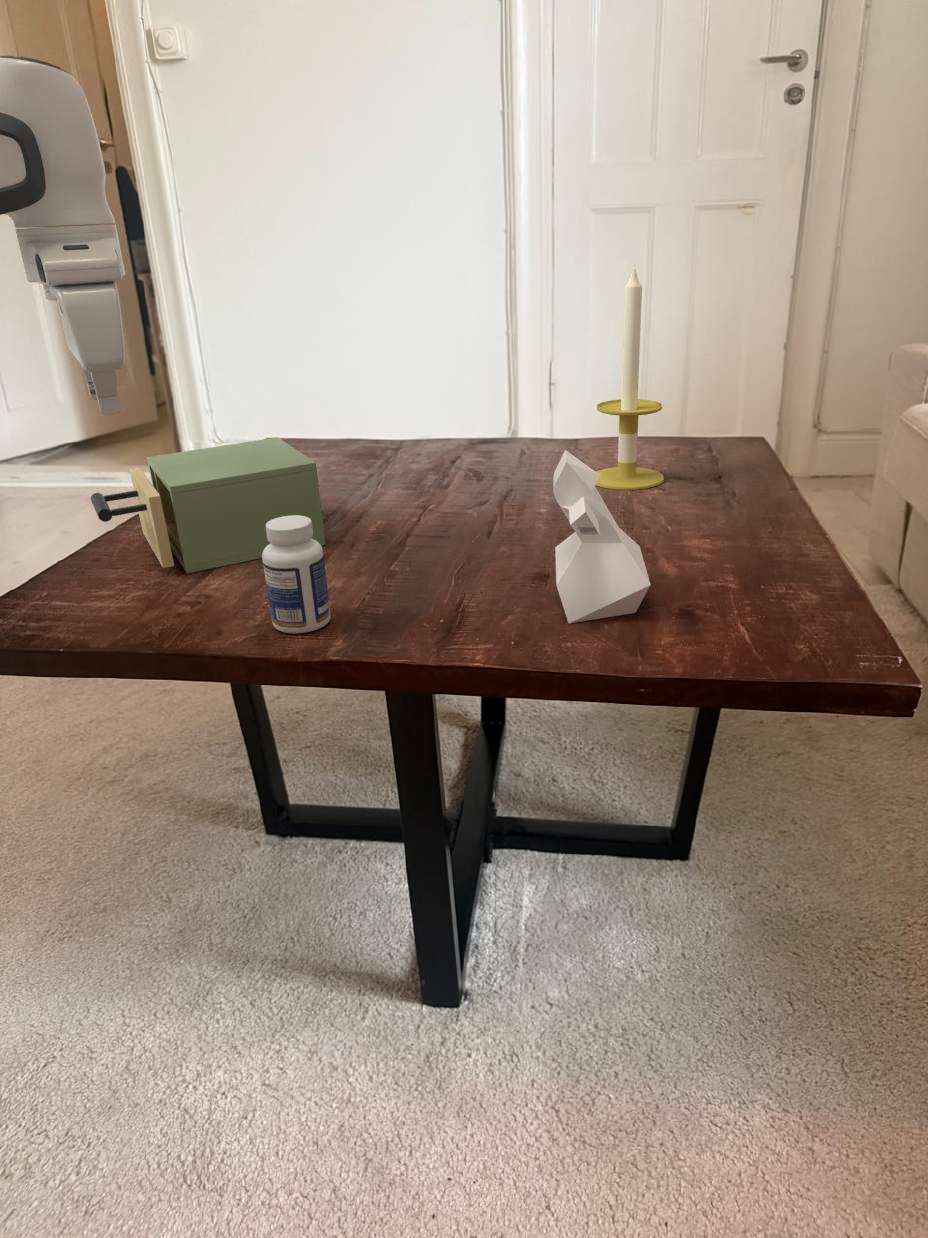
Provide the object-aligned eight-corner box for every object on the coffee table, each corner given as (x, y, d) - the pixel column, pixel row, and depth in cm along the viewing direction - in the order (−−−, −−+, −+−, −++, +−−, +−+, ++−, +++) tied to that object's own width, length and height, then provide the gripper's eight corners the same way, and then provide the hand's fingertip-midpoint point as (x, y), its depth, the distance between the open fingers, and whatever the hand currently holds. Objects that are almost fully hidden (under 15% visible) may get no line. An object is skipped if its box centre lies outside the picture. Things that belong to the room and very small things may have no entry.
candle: (583, 471, 121) (586, 263, 110) (654, 467, 121) (664, 259, 110) (596, 491, 112) (601, 268, 100) (672, 487, 112) (686, 263, 101)
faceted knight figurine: (636, 568, 88) (641, 434, 82) (651, 629, 75) (659, 475, 69) (552, 569, 89) (552, 436, 83) (554, 629, 76) (553, 477, 70)
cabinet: (186, 573, 92) (169, 486, 88) (162, 535, 104) (146, 456, 100) (325, 545, 98) (315, 462, 94) (288, 511, 110) (277, 437, 106)
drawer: (114, 578, 89) (97, 506, 86) (99, 541, 100) (83, 475, 97) (295, 541, 97) (286, 474, 94) (263, 510, 108) (253, 449, 105)
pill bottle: (316, 605, 83) (304, 508, 79) (341, 624, 79) (329, 523, 75) (263, 620, 80) (247, 521, 76) (286, 641, 76) (270, 536, 72)
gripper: (32, 259, 90) (64, 394, 96) (43, 264, 73) (81, 427, 79) (97, 255, 92) (124, 387, 98) (121, 260, 76) (152, 418, 81)
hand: (105, 405), depth 88 cm, fingers open, 8 cm apart
